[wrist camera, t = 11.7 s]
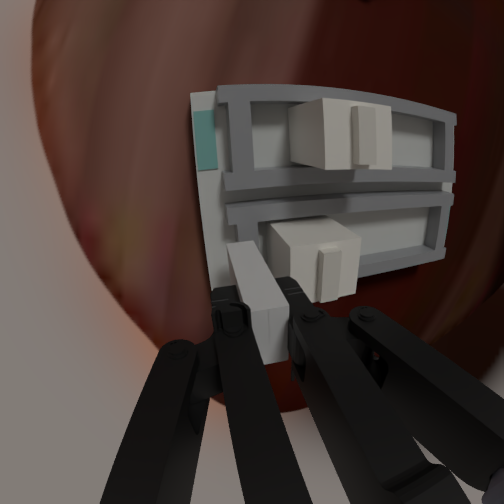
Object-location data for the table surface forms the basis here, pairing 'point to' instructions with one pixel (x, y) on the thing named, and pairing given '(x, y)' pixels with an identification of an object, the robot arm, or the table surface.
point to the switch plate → (319, 177)
